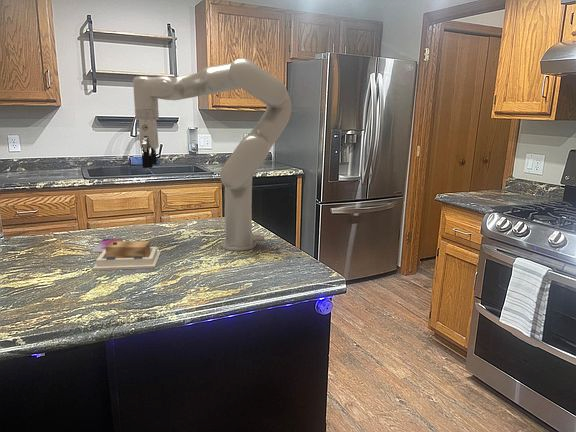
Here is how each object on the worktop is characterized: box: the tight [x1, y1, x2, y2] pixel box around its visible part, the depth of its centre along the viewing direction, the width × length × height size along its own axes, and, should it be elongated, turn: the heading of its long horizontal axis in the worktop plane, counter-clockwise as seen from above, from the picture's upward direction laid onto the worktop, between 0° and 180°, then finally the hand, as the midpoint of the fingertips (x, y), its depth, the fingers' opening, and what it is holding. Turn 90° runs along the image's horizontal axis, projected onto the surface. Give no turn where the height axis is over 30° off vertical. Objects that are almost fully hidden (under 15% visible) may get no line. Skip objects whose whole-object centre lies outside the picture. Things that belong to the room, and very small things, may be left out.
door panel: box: [105, 240, 151, 258], centre depth 136 cm, size 12×6×6 cm, turn 93°
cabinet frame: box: [92, 246, 162, 272], centre depth 136 cm, size 18×14×4 cm
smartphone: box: [89, 238, 124, 254], centre depth 151 cm, size 7×1×15 cm
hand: (149, 165), depth 148 cm, fingers open, 9 cm apart
